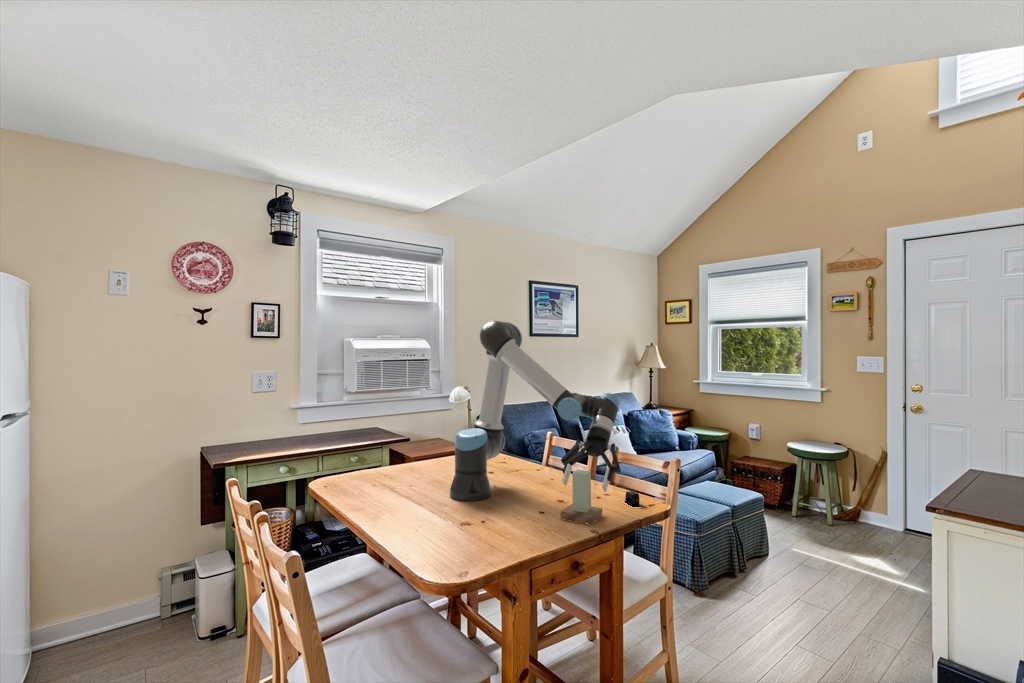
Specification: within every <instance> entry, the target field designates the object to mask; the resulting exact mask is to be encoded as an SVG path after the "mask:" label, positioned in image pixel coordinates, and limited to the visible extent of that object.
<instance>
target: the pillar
mask: <svg viewBox="0 0 1024 683" xmlns="http://www.w3.org/2000/svg"><path fill="white" fill-rule="evenodd" d="M571 473H572V504H573V511H578V512H584V513H587V512H588V511H589V510H590V509H591V506H592V472H591V470H584V469H576V470H574V471H573V472H571Z"/></svg>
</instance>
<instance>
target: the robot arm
mask: <svg viewBox="0 0 1024 683" xmlns="http://www.w3.org/2000/svg"><path fill="white" fill-rule="evenodd" d="M479 341H480V344H481V346H482V347H483V348H484V349H485V351H486V352H485V354H486V357H487V358H488V363H487V364H488V365H487V368H486V369H487V370H486V375H485V376H486V377H485V382H484V388H483V392H482V393H483V395H482V401H481V406H480V413H479V418H478V419H477V420H476V421H475V422H474V424H473V428H468V429H462V430H459V431H458V432H457V433H456V434H455V439H454V477H453V479H452V482H451V484H450V489H449V496H450V498H452V499H454V500H457V501H463V502H475V501H482V500H487V499H488V498H490V497H491V496H492V487H491V483H490V480H489V477H488V472H487V471H488V468H487V467H488V460H490V459H493V458H495V457H497V456H498V455H500V453H501V452H503V449H505V444H506V437H505V435H504V428H505V427H504V425H503V424H502V417H503V412H504V404H505V400H506V399H505V398H506V393H507V388H508V381H509V374H510V370H512V371H514V372H515V373H516V374H517V375H518V376H519V377H520V378H522V380H523V381H524V382H526V384H528V385H529V386H531V388H533V390H534V391H536V392H537V393H538V394H539V395H540V396H541V397H542V398H543V399H545V401H547V402H548V403H549V404H550V405H551V406H552V407H554V408H555V409H556V410H557V413H558V415H559V417H560V418H561V419H563V420H565V421H574V420H576V419H578V418H580V417H585V418H586V417H587V418H591V419H592V421H591V424H590V426H589V429H588V432H587V436H586V440H585V441H581V440H580V439H576V441H575V444H574V445H573V446H572V447H571V448H570V449H568V451H567V452H566V453H565V454H564V455H563V456H562V458H561V459H560V461H561V464H562V465H563V466H564V467H563V469H562V474H563V475H562V476H563V477H562V479H561V481H562V483H563V485H564V486H567V484H568V482H569V479H570V476H571V473H572V469H573V468H572V466H574V465H575V464H577V463H578V462H579V461H580V460H582V459H583V458H587V457H588V456H590V457H601V458H602V459H603V461H604V463H605V464H606V466H607V467H608V468H606V470H605V474H604V478H603V481H602V485H601V488H602V490H603V492H607V491H608V488H609V487H608V486H609V482H613V479H614V475H615V473H621V471H622V470H621V467H620V466H621V465H620V463H619V460H618V456H617V446H616V444H615V443H611V444H609V442H610V439H611V436H612V435H611V434H612V432H613V428H614V425H615V422H616V418H617V415H618V413H619V407H620V399H619V398H618V396H617V395H615V394H614V393H611V392H606V393H605V392H603V393H601V394H600V396H599V397H597V396H595V397H594V396H590V395H586V394H582V393H581V394H580V393H577V392H571V391H570V390H568V389H567V388H566V387H565V386H564V385H563V384H561V383H560V382H559V381H558V380H557V379H556V378H555V377H554V376H553V375H552V374H550V373H549V371H546V369H545V368H544V367H542V366H541V365H540V364H539V363H538V362H536V361H535V360H534V359H533V358H532V357H531V356H530V355H529V354H528V353H526V352H525V351H524V350H523V349H522V348H520V347H521V345H522V342H523V334H522V332H521V330H520V329H519V328H518V326H516V325H515V324H513V323H511V322H509V321H499V320H492V321H488V322H487V323H485V324H484V325H483V326H482V328H481V329H480V332H479ZM608 450H609V452H610V453H611V456H612V459H613V462H614V465H612V462H611V461H610V459H609V458H608V456H607V455H606V452H607V451H608Z"/></svg>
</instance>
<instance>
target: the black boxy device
mask: <svg viewBox="0 0 1024 683" xmlns="http://www.w3.org/2000/svg"><path fill="white" fill-rule="evenodd" d="M624 500H625V501H624V502H625V503H627V504H628V505H630V506H632V507H645V505H643V504H641V503H640V494H639V493H638V492H636V491H634V490H631V491H630V490H629V491H626V492H625V498H624Z"/></svg>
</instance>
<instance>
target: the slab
mask: <svg viewBox="0 0 1024 683" xmlns="http://www.w3.org/2000/svg"><path fill="white" fill-rule="evenodd" d="M601 515H602V516H603V508H601V507H597V506H592V505H591V509H590V510H589V511H588V512H587V513H584V512H578V511H573V503H571V504H570V505H569V506H567V507H565V508H564V509H562V510H561V511H560V520H562V519H566V520H565V521H567V520H571V521H570V522H572V521H577V522H576V523H578V522H582V523H581V524H583V523H588V524H592V523H593V522H594V521H595V520H597V519H598V518H599V517H600V516H601ZM602 516H601V517H602ZM601 517H600V518H601ZM600 518H599V519H600ZM599 519H598V520H599ZM598 520H597V521H598ZM595 522H596V521H595ZM595 522H594V523H595ZM594 523H593V524H594ZM588 524H587V525H588ZM593 524H592V525H593Z"/></svg>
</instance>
